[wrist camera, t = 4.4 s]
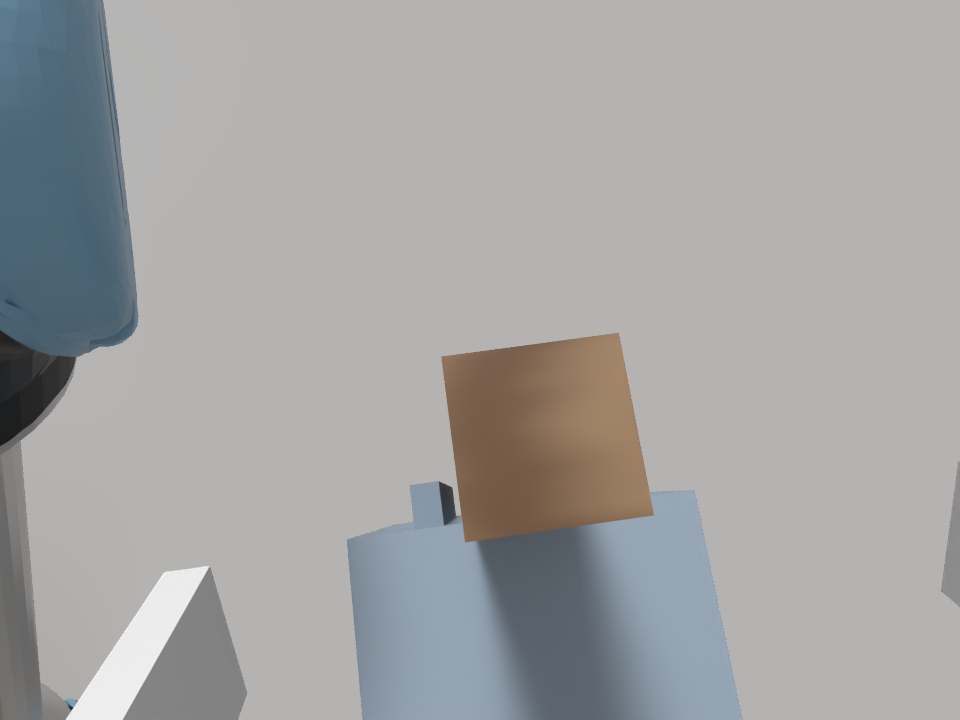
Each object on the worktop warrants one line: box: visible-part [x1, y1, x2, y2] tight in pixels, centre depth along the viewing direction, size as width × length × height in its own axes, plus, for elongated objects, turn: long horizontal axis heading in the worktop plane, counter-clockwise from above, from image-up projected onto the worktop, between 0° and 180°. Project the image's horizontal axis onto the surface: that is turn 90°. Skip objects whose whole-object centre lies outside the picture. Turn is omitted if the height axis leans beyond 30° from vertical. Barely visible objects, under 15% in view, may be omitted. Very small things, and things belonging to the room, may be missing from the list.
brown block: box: [442, 333, 654, 542], centre depth 23 cm, size 4×24×4 cm, turn 0°
